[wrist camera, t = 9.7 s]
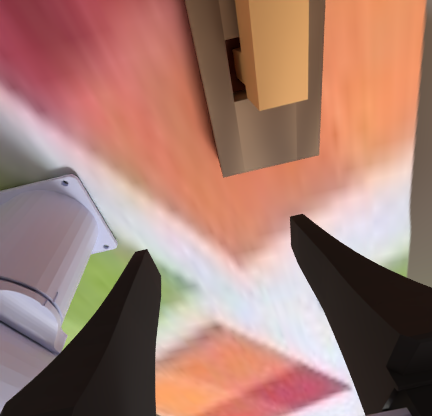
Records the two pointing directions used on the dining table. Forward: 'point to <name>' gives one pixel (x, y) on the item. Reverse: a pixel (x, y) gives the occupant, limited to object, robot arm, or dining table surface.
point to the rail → (242, 107)
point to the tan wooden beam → (273, 51)
